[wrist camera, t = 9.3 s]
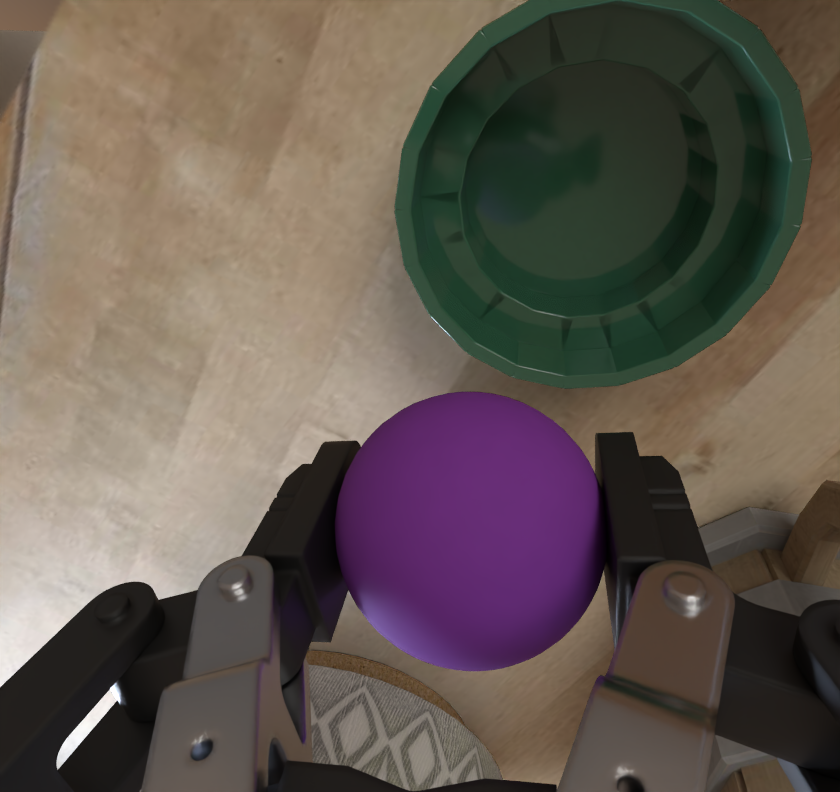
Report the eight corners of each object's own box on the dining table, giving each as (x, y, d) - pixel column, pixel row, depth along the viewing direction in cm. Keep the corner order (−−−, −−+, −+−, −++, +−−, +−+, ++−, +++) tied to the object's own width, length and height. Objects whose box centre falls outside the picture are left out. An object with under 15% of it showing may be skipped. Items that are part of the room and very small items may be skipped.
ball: (390, 531, 16) (335, 724, 11) (349, 354, 13) (257, 513, 9) (595, 531, 14) (624, 745, 10) (594, 338, 12) (631, 508, 8)
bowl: (441, 345, 29) (426, 397, 24) (393, 29, 22) (362, 25, 18) (737, 323, 26) (778, 377, 22) (779, -46, 20) (849, -71, 15)
